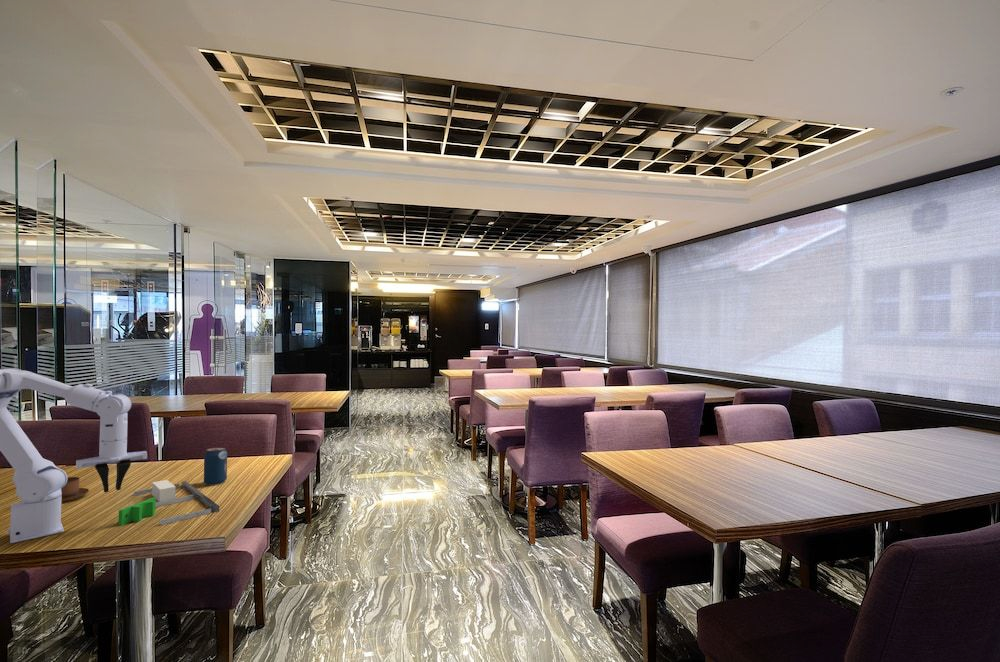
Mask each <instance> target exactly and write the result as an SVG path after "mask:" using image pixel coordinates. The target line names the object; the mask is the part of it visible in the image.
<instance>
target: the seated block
mask: <svg viewBox="0 0 1000 662" xmlns="http://www.w3.org/2000/svg"><path fill="white" fill-rule="evenodd" d="M173 484H174V483H172V482H171V481H170V480H168V479H164V480H159V481H153V482H151V488H152V493H151V495H152V496H153V498H156V501H157V502H160V501H165V500H170V499H175V498H176V489H177V488H176V487H175V486H174V485H173Z"/></svg>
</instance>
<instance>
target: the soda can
mask: <svg viewBox="0 0 1000 662" xmlns="http://www.w3.org/2000/svg"><path fill="white" fill-rule="evenodd" d="M227 478H228V451H227V450H226V447H225V446H218V447H217V446H216V447H210V448H207V449H206V450H205V452H204V457H203V482H204V484H205V485H206V486H218V485H222V484H224V483H225V482H226V480H227Z"/></svg>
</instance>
